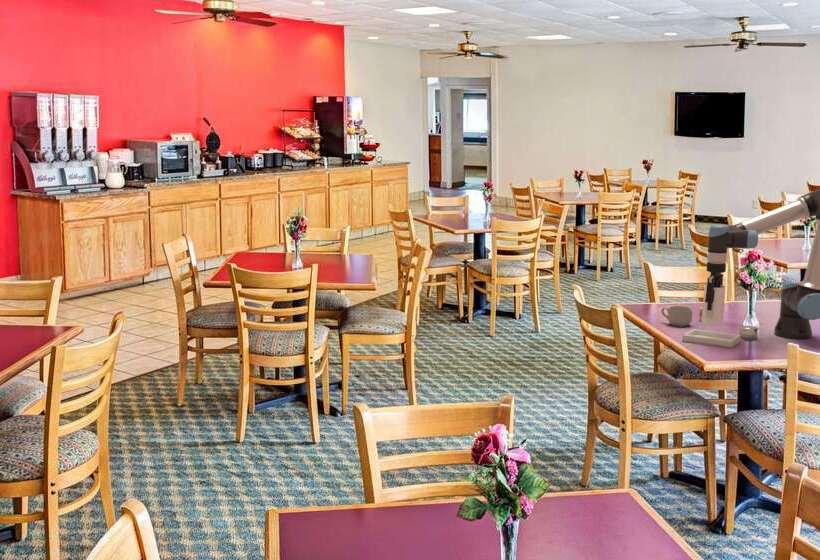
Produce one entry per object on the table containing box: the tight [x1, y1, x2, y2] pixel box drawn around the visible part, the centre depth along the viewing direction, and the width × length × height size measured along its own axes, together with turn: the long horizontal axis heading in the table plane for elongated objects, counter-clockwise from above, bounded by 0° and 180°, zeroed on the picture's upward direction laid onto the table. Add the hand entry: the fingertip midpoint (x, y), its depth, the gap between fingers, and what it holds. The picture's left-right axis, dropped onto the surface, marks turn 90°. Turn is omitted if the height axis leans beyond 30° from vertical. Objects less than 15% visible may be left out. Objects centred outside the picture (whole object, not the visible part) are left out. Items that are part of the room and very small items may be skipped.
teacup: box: [660, 305, 693, 328], centre depth 422 cm, size 14×11×8 cm
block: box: [698, 306, 703, 323], centre depth 431 cm, size 5×5×6 cm
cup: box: [701, 284, 726, 327], centre depth 388 cm, size 8×8×16 cm
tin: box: [739, 325, 759, 341], centre depth 397 cm, size 7×7×5 cm
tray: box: [682, 328, 742, 349], centre depth 391 cm, size 20×14×3 cm
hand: (712, 315), depth 389 cm, fingers closed on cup, 8 cm apart
